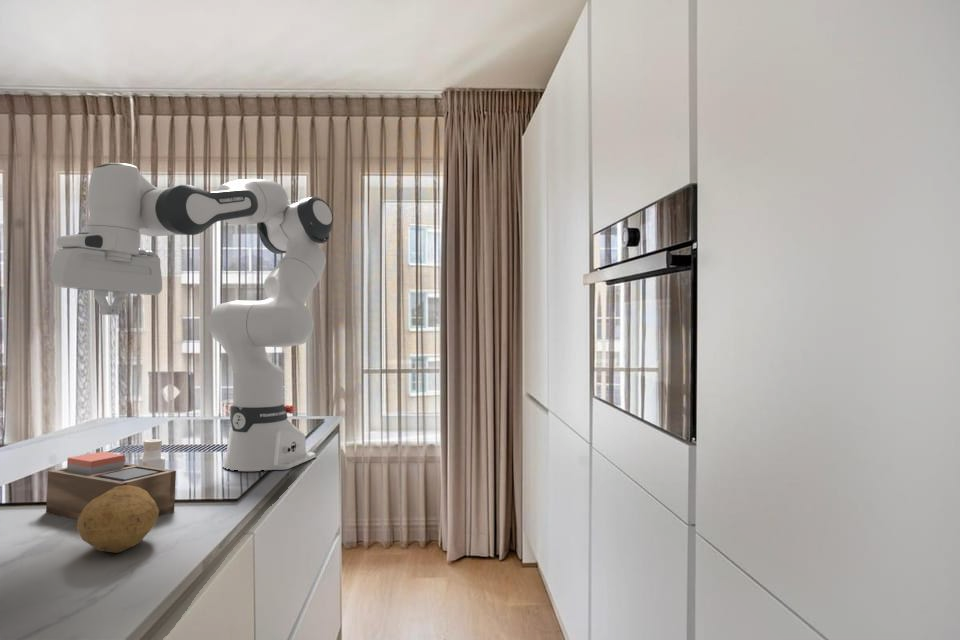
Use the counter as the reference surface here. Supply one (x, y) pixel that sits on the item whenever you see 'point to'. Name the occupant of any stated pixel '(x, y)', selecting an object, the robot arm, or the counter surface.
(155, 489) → the wooden divided tray
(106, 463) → the red and grey cube
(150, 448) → the pepper shaker
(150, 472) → the grey cube
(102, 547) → the potato
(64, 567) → the counter surface
